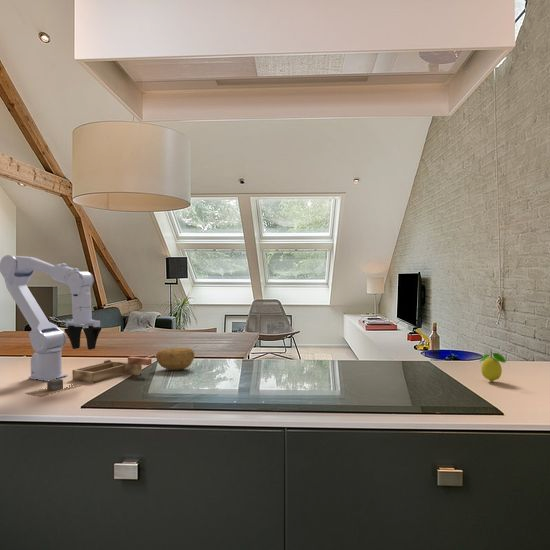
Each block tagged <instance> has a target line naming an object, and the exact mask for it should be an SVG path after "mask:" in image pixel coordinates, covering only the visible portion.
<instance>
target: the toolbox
mask: <svg viewBox="0 0 550 550" xmlns="http://www.w3.org/2000/svg"><path fill="white" fill-rule="evenodd" d="M142 366H143V365H140V364H131V363H128V361H126V362H125V361H115V360H114V361H113V360H111V359H107V360H104V361H103V362H102V363H101V362H100V363H96V364H91V365H88V366H85V367H80V368H77V369H72V374H71V375H72V381H76V380H79V381H78V382H83V381H85V382H84V383H90V382H91V383H92V384H95V383H99V382H103V381H106V380H110V379H113V378H116V377H120V376H124V375H128V376H129V375H130V376H136V375H137V376H141V375H142V373H143V370H142V368H143V367H142ZM140 374H141V375H140ZM91 383H90V384H91Z"/></svg>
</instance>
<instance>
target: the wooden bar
mask: <svg viewBox="0 0 550 550" xmlns="http://www.w3.org/2000/svg"><path fill="white" fill-rule="evenodd" d="M127 362H128V363H131V364H140V365H142V366H151V365H152V358H150V357H142V356H141V357H140V356H128V357H127Z"/></svg>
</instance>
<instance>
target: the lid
mask: <svg viewBox="0 0 550 550" xmlns="http://www.w3.org/2000/svg"><path fill="white" fill-rule="evenodd" d="M63 383H64V379H61V378H57V379H53V380H49V381H46V384H47V386H46V387H44V388H45V389H43V388H40V389H37V390H38V391H37V390H36V389H35V390H32V391H28V392H26V393H27V394H26V395H30V394H31V395H30V396H35V395H36V396H35V397H40V398H41V397H45V396H49V394H50V395H54V394H57V393H59V392H60V391H61V392H64V391H67V389H68V390H71V389H70V388H72V389H75V388H78V387H77V386H79V387H82V386H81V385H82V384H81V383H75V384H74V382H72V383H73V385H72V384H71V387H70V385H69V388H68V387H66V388H64V389H63ZM73 386H74V387H75V388H74V387H73ZM46 388H47V389H46ZM63 390H64V391H63ZM56 392H57V393H56ZM61 392H60V393H61Z"/></svg>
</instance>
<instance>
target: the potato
mask: <svg viewBox="0 0 550 550" xmlns="http://www.w3.org/2000/svg"><path fill="white" fill-rule="evenodd" d="M155 355H156V356H155V358H156V362H157V363H158V364H159V365H160V367H161V368H164V369H166V370H170V371H180V370H185V369H187V368H189V366H191V365H192V363H193V361H194V359H195V355H196V353H195V351H194V350H193V349H192V348H189V347H180V346H178V347H172V348H171V347H170V348H163V349H161V350H158V351H157V353H156V354H155Z"/></svg>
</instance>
